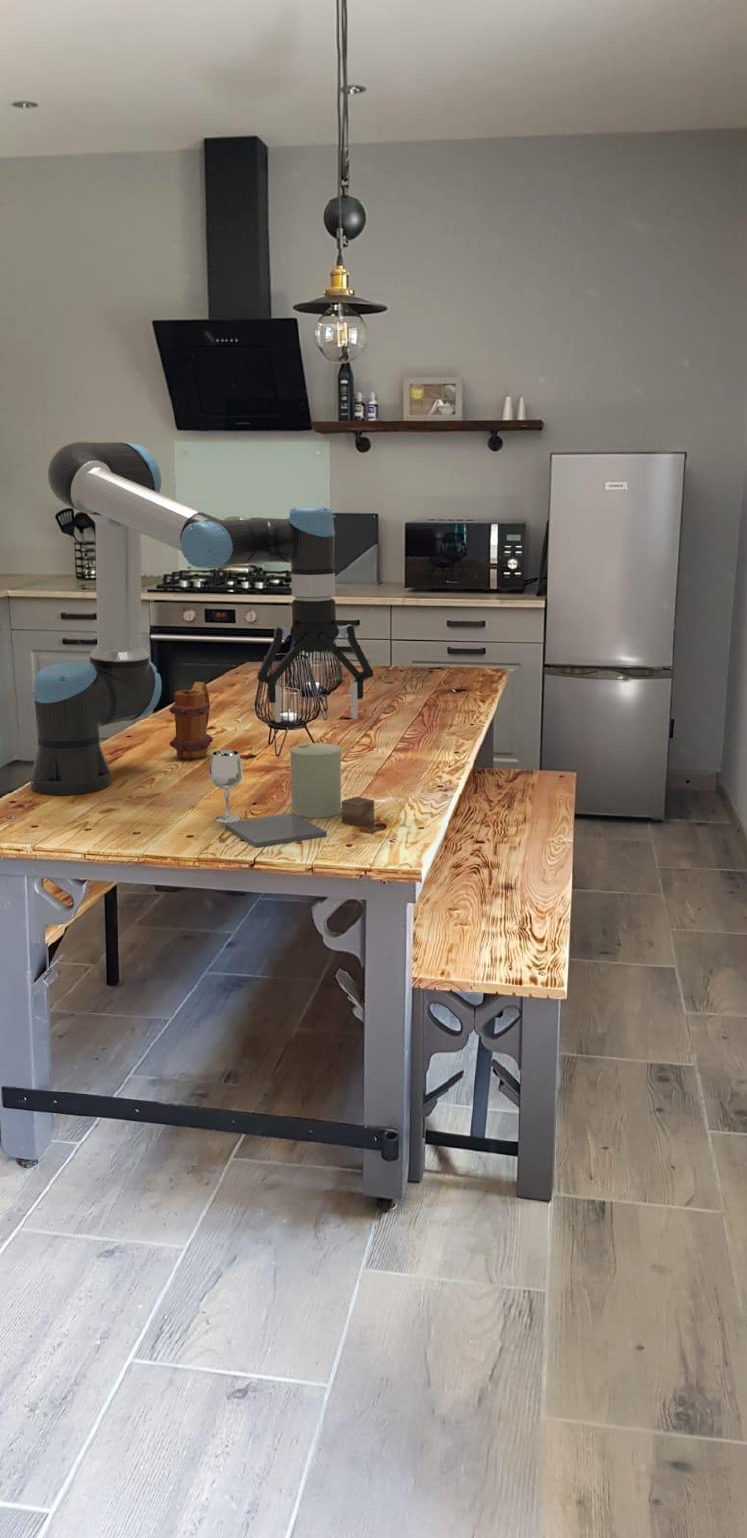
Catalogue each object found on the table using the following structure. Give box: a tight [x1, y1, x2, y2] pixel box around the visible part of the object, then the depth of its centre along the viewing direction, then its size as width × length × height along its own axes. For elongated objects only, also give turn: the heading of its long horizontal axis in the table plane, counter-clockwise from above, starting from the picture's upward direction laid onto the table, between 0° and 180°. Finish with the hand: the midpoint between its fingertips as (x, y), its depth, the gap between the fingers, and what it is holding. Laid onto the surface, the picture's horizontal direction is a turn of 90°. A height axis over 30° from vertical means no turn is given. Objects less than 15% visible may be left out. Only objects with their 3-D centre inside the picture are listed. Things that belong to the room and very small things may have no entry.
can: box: [289, 742, 342, 819], centre depth 219 cm, size 9×9×12 cm
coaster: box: [223, 812, 327, 849], centre depth 208 cm, size 13×13×1 cm
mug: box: [168, 681, 214, 760], centre depth 262 cm, size 15×8×15 cm, turn 168°
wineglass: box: [208, 749, 244, 824], centre depth 214 cm, size 6×6×12 cm
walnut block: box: [341, 796, 375, 828], centre depth 213 cm, size 4×4×4 cm
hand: (316, 719), depth 216 cm, fingers open, 13 cm apart
